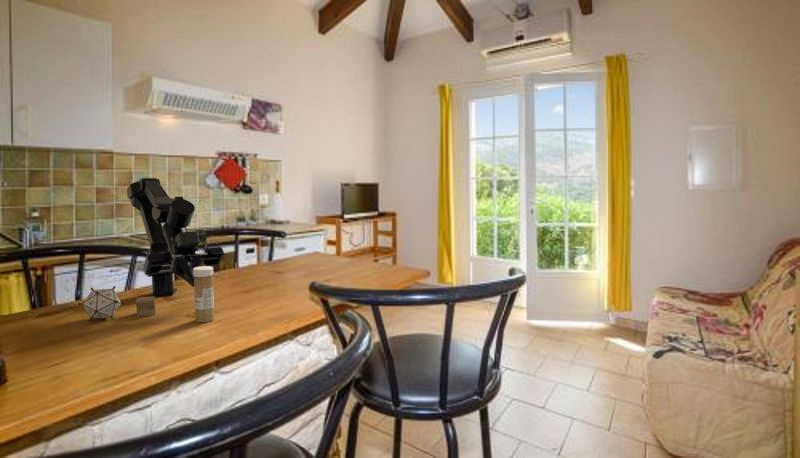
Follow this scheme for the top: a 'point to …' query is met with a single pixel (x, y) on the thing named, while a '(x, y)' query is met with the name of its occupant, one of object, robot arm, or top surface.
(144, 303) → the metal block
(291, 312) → the top surface
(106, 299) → the game die
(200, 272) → the sprinkles bottle
